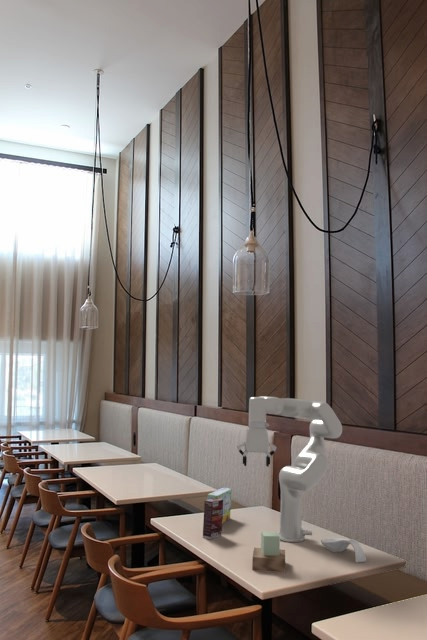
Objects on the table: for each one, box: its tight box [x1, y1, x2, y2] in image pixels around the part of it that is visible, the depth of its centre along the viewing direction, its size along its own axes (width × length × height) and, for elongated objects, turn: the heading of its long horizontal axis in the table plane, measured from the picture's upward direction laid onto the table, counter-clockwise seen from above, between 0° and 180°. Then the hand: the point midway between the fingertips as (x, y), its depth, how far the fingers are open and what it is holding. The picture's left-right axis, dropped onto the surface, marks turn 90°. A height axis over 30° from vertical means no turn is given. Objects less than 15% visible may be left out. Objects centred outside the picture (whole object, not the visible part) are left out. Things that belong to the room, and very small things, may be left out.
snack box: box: [206, 487, 233, 524], centre depth 274 cm, size 21×6×15 cm, turn 159°
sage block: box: [260, 531, 281, 556], centre depth 212 cm, size 6×6×7 cm
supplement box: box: [202, 498, 223, 540], centre depth 249 cm, size 9×5×16 cm, turn 143°
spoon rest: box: [320, 537, 367, 564], centre depth 230 cm, size 24×12×7 cm, turn 23°
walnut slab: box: [251, 547, 286, 574], centre depth 211 cm, size 12×12×5 cm
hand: (256, 465), depth 240 cm, fingers open, 9 cm apart
